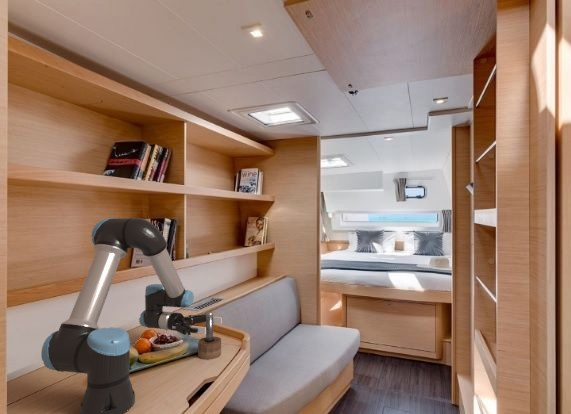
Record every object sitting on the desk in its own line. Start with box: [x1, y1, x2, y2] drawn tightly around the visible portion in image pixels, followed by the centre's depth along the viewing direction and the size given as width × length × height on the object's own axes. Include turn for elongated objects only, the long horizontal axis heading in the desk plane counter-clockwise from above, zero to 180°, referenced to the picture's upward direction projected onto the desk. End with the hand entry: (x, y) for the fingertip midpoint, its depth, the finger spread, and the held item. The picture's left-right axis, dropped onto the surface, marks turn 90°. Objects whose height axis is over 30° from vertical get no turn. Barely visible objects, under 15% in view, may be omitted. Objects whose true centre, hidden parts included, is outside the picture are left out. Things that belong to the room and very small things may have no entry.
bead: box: [197, 335, 222, 361], centre depth 139 cm, size 10×10×6 cm
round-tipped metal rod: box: [205, 311, 214, 343], centre depth 139 cm, size 3×3×18 cm
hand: (214, 325), depth 139 cm, fingers open, 13 cm apart
